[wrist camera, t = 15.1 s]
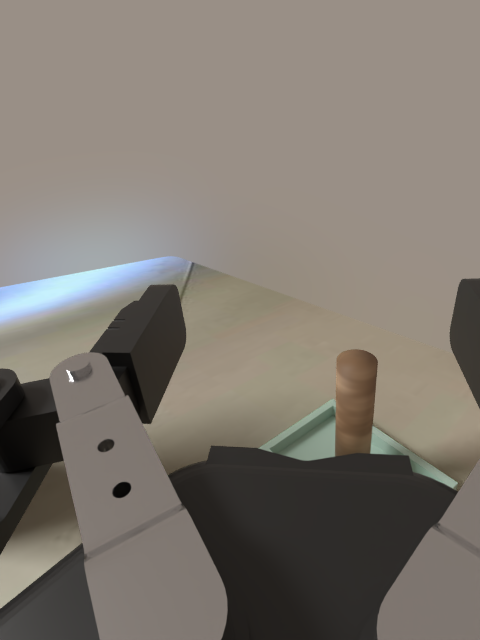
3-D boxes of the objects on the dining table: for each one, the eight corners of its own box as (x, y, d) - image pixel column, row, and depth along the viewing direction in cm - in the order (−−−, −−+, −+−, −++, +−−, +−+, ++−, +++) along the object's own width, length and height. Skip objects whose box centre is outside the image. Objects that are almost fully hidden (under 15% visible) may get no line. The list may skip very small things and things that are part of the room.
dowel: (327, 473, 41) (328, 360, 34) (349, 456, 43) (354, 344, 36) (353, 495, 39) (359, 379, 32) (375, 476, 41) (386, 361, 33)
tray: (260, 464, 44) (258, 448, 43) (332, 414, 50) (332, 398, 48) (376, 579, 34) (379, 562, 32) (453, 500, 39) (457, 482, 38)
